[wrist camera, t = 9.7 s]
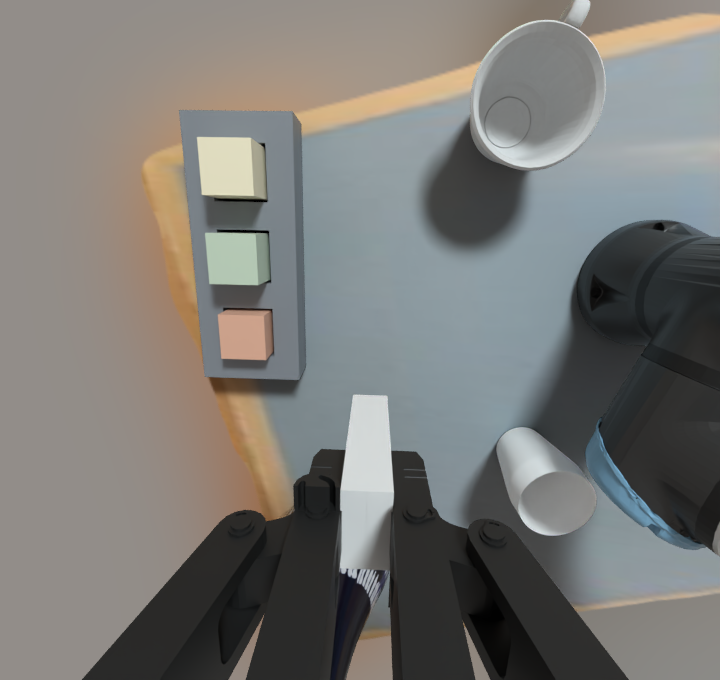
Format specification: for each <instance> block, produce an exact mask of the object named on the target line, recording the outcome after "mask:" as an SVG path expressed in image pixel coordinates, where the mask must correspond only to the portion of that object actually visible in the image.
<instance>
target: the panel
mask: <svg viewBox="0 0 720 680" xmlns="http://www.w3.org/2000/svg"><path fill="white" fill-rule="evenodd" d="M179 114H180V125H181V135H182V146H183V156H184V166H185V177H186V187H187V197H188V208H189V218H190V229H191V239H192V249H193V260H194V270H195V281H196V291H197V301H198V312H199V322H200V332H201V343H202V353H203V364H204V374H205V377H222V378H253V379H283V380H299V379H300V377H301V375H302V374H303V372H304V370H305V368H306V339H305V288H304V237H303V187H302V136H301V123H300V121H299V120H298V119H297V117H296V116H295V114H294V113H293V111H213V110H210V111H208V110H179ZM197 137H238V138H252V139H253V140H255V141H256V142H257V143H259V144H260V145H261V146H263V147H264V148H265V149H266V172H267V195H268V202H230V200H225V199H220V198H215V197H210V196H205V195H202V190H201V179H200V167H199V156H198V144H197ZM232 230H269V241H270V264H271V279H270V280H268V281H266V282H264V283H262V284H260V285H229V284H209V273H208V262H207V250H206V239H205V233H225V232H230V233H232ZM229 308H262V309H272V311H273V334H274V351H273V352H272V354H271V355H270V356H269V357H268V358H267V360H246V359H221V348H220V335H219V323H218V314H220V313H222V312H224V311H225V310H227V309H229Z"/></svg>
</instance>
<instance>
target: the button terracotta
mask: <svg viewBox="0 0 720 680" xmlns="http://www.w3.org/2000/svg"><path fill="white" fill-rule="evenodd" d="M218 323H219V335H220V348H221V359H246V360H267V358H268V357H269V356H270V355H271V354H272V352H273V351H274V334H273V311H272V309H262V308H229V309H227V310H225V311H224V312H222V313H220V314H218Z"/></svg>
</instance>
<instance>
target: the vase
mask: <svg viewBox="0 0 720 680" xmlns="http://www.w3.org/2000/svg"><path fill="white" fill-rule="evenodd" d="M293 512H294V508H293V509H292V510H291V511H290V512H289V514H288V515H290V514H292V513H293ZM288 515H287V516H288ZM388 574H389V570H368V569H347V568H340V570H339V593H338V603H337V613H336V623H335V633H334V643H333V654H332V664H331V674H330V680H346V677H347V673H348V669H349V666H350V662H351V659H352V656H353V653H354V650H355V647H356V644H357V642H358V639H359V637H360V634H361V632H362V630H363V627H364V625H365V623H366V621H367V619H368V617H369V615H370V613H371V611H372V609H373V608H374V606H375V604H376V602H377V600H378V598H379V596H380V594H381V592H382V590H383V588H384V586H385V584H386V581H387V578H388Z"/></svg>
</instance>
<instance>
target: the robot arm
mask: <svg viewBox="0 0 720 680" xmlns="http://www.w3.org/2000/svg"><path fill="white" fill-rule="evenodd" d="M577 297H578V303H579V307H580V310H581V313H582V315H583V317H584V318H585V320H586V321H587V323H588V324H589V325H590V326H591V327H592V328H593V329H594V330H595V331H597V332H598V333H600V334H601V335H603V336H605V337H607V338H609V339H612V340H614V341H616V342H619V343H623V344H627V345H634V346H646V345H647V347H646V348H645V350H644V352H643V353H642V355H641V356H640V358H639V359H638V361H637V362H636V364H635V366H634V367H633V369H632V371H631V372H630V374H629V375H628V377H627V379H626V380H625V382H624V384H623V385H622V387H621V388H620V390H619V392H618V393H617V395H616V397H615V398H614V400H613V401H612V403H611V405H610V406H609V408H608V410H607V411H606V413H605V414H604V416H603V417H601V418H600V419H599V420H598V422H597V424H596V430H595V432H594V434H593V436H592V438H591V440H590V441H589V443H588V445H587V447H586V451H585V457H586V464H587V468H588V470H589V472H590V474H591V476H592V477H593V479H594V480H595V482H596V483H597V485H598V486H599V487H600V489H601V490H602V491H603V492H604V493H605V494H606V495H607V496H608V497H609V499H610V500H611V501H612V502H613V503H614V504H615V505H617V506H618V507H619V508H620V509H621V510H622V511H623V512H624V513H625V514H627V515H628V516H629V517H630V518H631V519H633V520H634V521H635V522H637V523H638V524H639V525H641V526H642V527H648V528H649V529H650V530H651V531H652V532H653V533H654V534H655V535H656V536H657V537H659V538H661V539H663V540H664V541H666V542H668V543H670V544H672V545H675V546H677V547H680V548H683V549H690V550H697V549H700V548H705V547H708V548H709V549H710V550H712V551H713V552H714V553H715V554H717V555H718V556H720V237H711V236H709V235H707V234H705V233H703V232H701V231H699V230H697V229H695V228H693V227H691V226H689V225H687V224H684V223H681V222H676V221H671V220H647V221H640V222H635V223H632V224H629V225H626V226H624V227H621V228H619V229H617V230H616V231H614V232H612V233H611V234H609V235H608V236H607V237H605V238H604V239H603V240H602V241H601V242H600V243H599V244H598V245H597V246H596V247H595V248H594V249H593V251H592V252H591V253H590V255H589V256H588V258H587V260H586V261H585V263H584V265H583V268H582V270H581V273H580V276H579V280H578V287H577ZM293 487H294V512H293V513H292V514H290V515H288V516H286V517H284V518H280V519H276V520H271V521H265V518H264V517H263V515H262V514H261V513H258V512H256V511H252V510H243V511H238V512H234V513H232V514H230V515H228V516H226V517H225V518H224V519H223V520H222V521H220V522H219V524H218V525H217V526H216V527H215V528H214V529H213V531H212V532H211V533H210V534H209V535H208V536H207V537H206V539H205V540H204V541H203V542H202V543H201V544H200V546H198V548H197V549H196V550H195V551H194V552H193V553H192V554H191V556H190V557H189V558H188V559H187V560H186V561H185V562H184V564H183V565H182V566H181V567H180V568H179V569H178V571H177V572H176V573H175V574H174V575H173V576H172V577H171V579H170V580H169V581H168V582H167V583H166V584H165V585H164V586H163V588H162V589H161V590H160V591H159V592H158V594H156V596H155V597H154V598H153V599H152V600H151V601H150V602H149V604H148V605H147V606H146V607H145V608H144V609H143V611H142V612H141V613H140V614H139V615H138V616H137V617H136V618H135V620H134V621H133V622H132V623H131V624H130V625H129V627H128V628H127V629H126V630H125V631H124V632H123V633H122V634H121V636H120V637H119V638H118V639H117V640H116V642H115V643H114V644H113V645H112V646H111V647H110V648H109V649H108V650H107V652H106V653H105V654H104V655H103V656H102V657H101V658H100V660H99V661H98V662H97V663H96V664H95V665H94V666H93V668H92V669H91V670H90V671H89V672H88V674H86V676H85V677H84V678H83V679H82V680H228V679H229V677H230V676H231V674H232V672H233V670H234V668H235V666H236V665H237V663H238V661H239V659H240V657H241V656H242V654H243V652H244V650H245V648H246V646H247V645H248V643H249V641H250V639H251V637H252V635H253V633H254V632H255V630H256V628H257V626H258V625H259V623H260V621H261V619H262V617H263V615H264V618H263V621H262V625H261V628H260V632H259V635H258V639H257V642H256V646H255V649H254V653H253V656H252V660H251V663H250V667H249V670H248V674H247V678H246V680H330V674H331V664H332V654H333V643H334V633H335V623H336V613H337V603H338V593H339V570H340V568H347V569H368V570H389V571H390V586H389V606H388V607H390V615H391V642H392V669H393V680H475V676H474V671H473V666H472V662H471V658H470V653H469V648H468V644H467V639H466V635H465V630H464V625H463V622H464V624H465V626H466V628H467V630H468V632H469V635H470V637H471V639H472V641H473V643H474V645H475V647H476V649H477V652H478V654H479V656H480V658H481V660H482V662H483V664H484V667H485V669H486V671H487V673H488V675H489V677H490V679H491V680H629V679H628V678H627V677H626V676H625V674H624V673H623V672H622V670H621V669H620V668H619V667H618V665H617V664H616V663H615V661H614V660H613V659H612V657H611V656H610V655H609V654H608V652H607V651H606V650H605V648H604V647H603V646H602V645H601V643H600V642H599V641H598V639H597V638H596V637H595V635H594V634H593V633H592V632H591V630H590V629H589V628H588V626H587V625H586V624H585V623H584V621H583V620H582V619H581V617H580V616H579V615H578V614H577V612H576V611H575V610H574V608H573V607H572V606H571V605H570V603H569V602H568V601H567V599H566V598H565V597H564V595H563V594H562V593H561V592H560V590H559V589H558V588H557V586H556V585H555V584H554V583H553V581H552V580H551V579H550V577H549V576H548V575H547V574H546V572H545V571H544V570H543V568H542V567H541V566H540V564H539V563H538V562H537V561H536V559H535V558H534V557H533V555H532V554H531V553H530V552H529V550H528V549H527V548H526V546H525V545H524V544H523V543H522V541H521V540H520V539H519V537H518V536H517V535H516V534H515V533H514V532H513V531H512V530H511V529H510V528H509V527H508V526H506V525H504V524H502V523H501V522H498V521H494V520H491V519H480V520H477V521H474V522H473V523H472V524H471V525H470V526H469V528H468V529H465V528H462V527H458V526H455V525H453V524H450V523H448V522H446V521H445V520H443V519H442V518H441V517H440V516H439V514H438V512H437V510H436V509H435V508H434V507H433V505H432V500H431V495H430V490H429V485H428V481H427V476H426V471H425V466H424V461H423V459H422V458H421V457H420V456H419V455H418V454H417V452H409V451H391V444H390V430H389V415H388V401H387V396H378V395H353V401H352V408H351V415H350V423H349V430H348V438H347V445H346V450H331V449H321V450H320V451H319V452H318V453H317V454H316V455H315V456H314V458H313V461H312V465H311V469H310V472H309V474H307V475H304V476H302V477H301V478H299V479H298V480H297V481H296V482H295V484H294V486H293ZM462 620H463V621H462Z"/></svg>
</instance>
